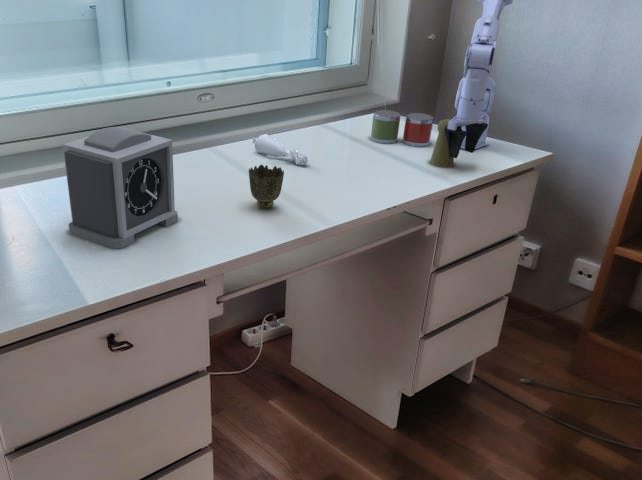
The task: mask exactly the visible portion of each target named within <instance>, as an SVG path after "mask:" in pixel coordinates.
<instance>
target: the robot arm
mask: <svg viewBox="0 0 642 480" xmlns="http://www.w3.org/2000/svg"><path fill="white" fill-rule="evenodd" d="M476 2H478V3H479V4H481V5H482V13H481V14H482V15H481V17H480V18H478V19H477V20H476V22H475V23H474V28H473V32H472V36H471V40H470V45H468V46H467V48H466V52H465V57H464V64H463V67H464V68H463V75H462V78H461V79H460V81H459V84H458V87H457V91H456V96H455V101H454V108H455V110H456V112H457V113H456V115H454V116H453V118H452V120H449V122H448V126H445V129H444V131H445V134H446V137H447V141H448V153H449V157H453V158H454V159H457V158H458V156H459V155H460V150H461V149H462V150H464V151H465V152H469V153H474V152H475V150H477V149H480V148H483V147H485V146H486V147H487V146H488V145H489V143H488V142H486V140H487V135H488V132H489V127H490V116H489V114H490V113H491V112H492V108H493V105H494V98H495V94H496V87H497V84H496V81H494V79H493V78H492V77H491V76H490V73H491V72H492V70H493V68H494V64H495V63H494V62H495V58H496V53H497V41H498V36H499V32H500V27H501V23H500V17H501V14H502V12H503V11H504V9H505V7H506V6H510V5H512V4H513V2H514V0H476Z"/></svg>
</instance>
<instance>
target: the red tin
mask: <svg viewBox="0 0 642 480" xmlns="http://www.w3.org/2000/svg"><path fill="white" fill-rule="evenodd" d="M433 124H434V116H432V115H430V114H427V113H420V112H410V113H408V114H406V116H405V120H404V128H403V135H402V143H403V144H405V145H407V146H412V147H418V148H419V147H427V146H429V145H430V142H431V136H432V129H433Z"/></svg>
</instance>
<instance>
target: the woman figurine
mask: <svg viewBox="0 0 642 480" xmlns="http://www.w3.org/2000/svg"><path fill="white" fill-rule="evenodd" d="M252 143H253V144H254V149H255V152H257V153H258V154H261V155H266V156H265V158H267V159H278V160H284V161H285V160H286V161H289V162H295V164H296V165H298V166H305V165H307V164H308V162H309V159H308V156H307V155H305V154H302V153H300V152H299V147H297V146H296V147H295V148H292V150H290V149H288V148H287V147H286V146H285V145H284V144H283V143H281V142H280V141H278V140H277V139H275V138H274V137H273V136H271V135H270V134H267V133H264V134H259V135H258V137H257V138H256V135H255V136H253V137H252ZM299 153H300V154H299Z"/></svg>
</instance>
